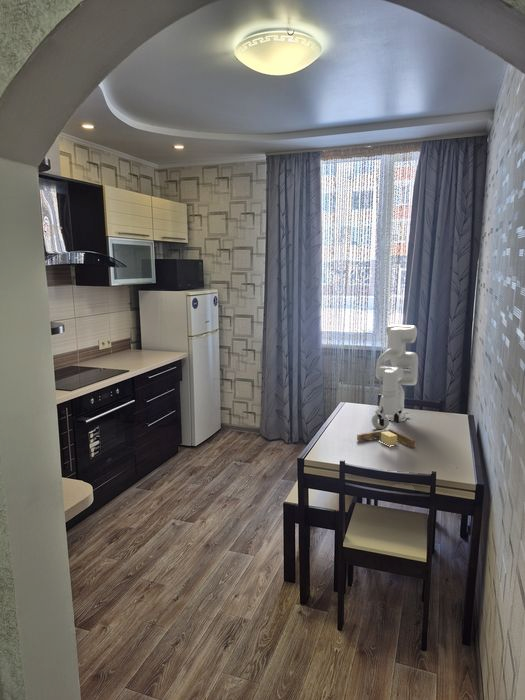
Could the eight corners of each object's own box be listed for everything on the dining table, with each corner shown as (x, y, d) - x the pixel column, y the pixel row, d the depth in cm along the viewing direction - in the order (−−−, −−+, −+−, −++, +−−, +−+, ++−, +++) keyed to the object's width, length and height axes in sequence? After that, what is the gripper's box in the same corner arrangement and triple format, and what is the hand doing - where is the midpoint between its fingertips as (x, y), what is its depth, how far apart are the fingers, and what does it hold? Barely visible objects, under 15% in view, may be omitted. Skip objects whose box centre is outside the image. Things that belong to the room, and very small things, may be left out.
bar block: (396, 444, 244) (397, 435, 243) (389, 445, 242) (389, 436, 241) (386, 439, 251) (387, 430, 251) (379, 440, 249) (379, 431, 249)
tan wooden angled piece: (389, 435, 258) (390, 428, 258) (414, 447, 240) (415, 440, 240) (357, 441, 250) (357, 434, 249) (380, 454, 231) (380, 447, 231)
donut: (370, 429, 268) (371, 412, 267) (372, 427, 271) (372, 411, 270) (388, 431, 264) (388, 415, 262) (389, 429, 267) (390, 413, 265)
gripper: (398, 389, 249) (397, 419, 252) (372, 393, 242) (371, 424, 246) (407, 392, 242) (406, 423, 246) (381, 397, 235) (380, 429, 239)
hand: (388, 424), depth 246 cm, fingers open, 9 cm apart
